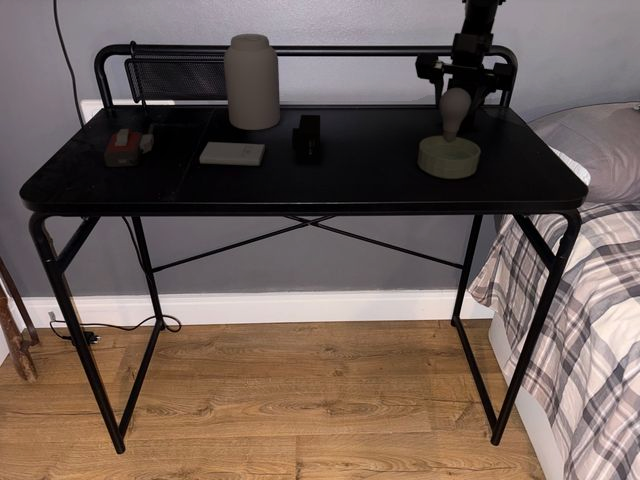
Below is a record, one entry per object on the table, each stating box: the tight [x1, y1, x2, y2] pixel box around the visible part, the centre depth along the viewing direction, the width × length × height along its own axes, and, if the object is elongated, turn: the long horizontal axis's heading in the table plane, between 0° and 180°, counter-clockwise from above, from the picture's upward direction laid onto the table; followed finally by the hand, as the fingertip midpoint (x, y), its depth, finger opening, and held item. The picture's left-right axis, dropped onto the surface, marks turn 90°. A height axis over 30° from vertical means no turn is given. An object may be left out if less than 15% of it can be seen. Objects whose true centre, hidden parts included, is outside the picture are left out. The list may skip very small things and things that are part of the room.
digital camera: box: [291, 114, 321, 165], centre depth 108 cm, size 10×5×7 cm, turn 178°
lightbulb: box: [438, 88, 471, 142], centre depth 99 cm, size 6×6×11 cm
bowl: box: [416, 134, 482, 180], centre depth 104 cm, size 12×12×4 cm
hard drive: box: [199, 141, 266, 167], centre depth 107 cm, size 2×8×12 cm
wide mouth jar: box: [223, 33, 281, 131], centre depth 119 cm, size 12×12×20 cm
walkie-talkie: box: [103, 123, 155, 168], centre depth 109 cm, size 9×4×20 cm
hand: (452, 111), depth 97 cm, fingers closed on lightbulb, 6 cm apart
